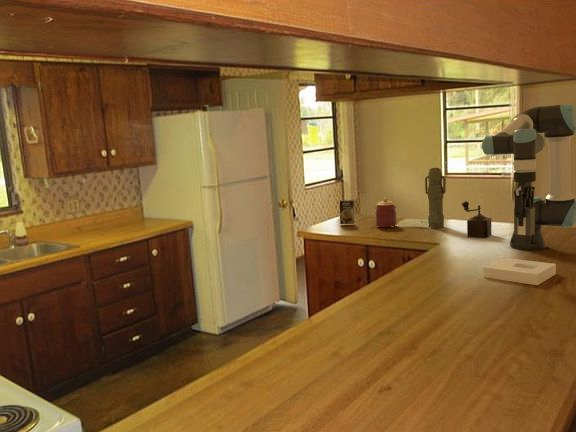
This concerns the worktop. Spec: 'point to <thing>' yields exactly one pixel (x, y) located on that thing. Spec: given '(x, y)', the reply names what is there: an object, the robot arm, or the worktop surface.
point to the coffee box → (347, 212)
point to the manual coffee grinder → (477, 224)
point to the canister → (386, 213)
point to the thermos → (435, 197)
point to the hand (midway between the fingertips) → (524, 233)
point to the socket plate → (520, 271)
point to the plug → (529, 221)
